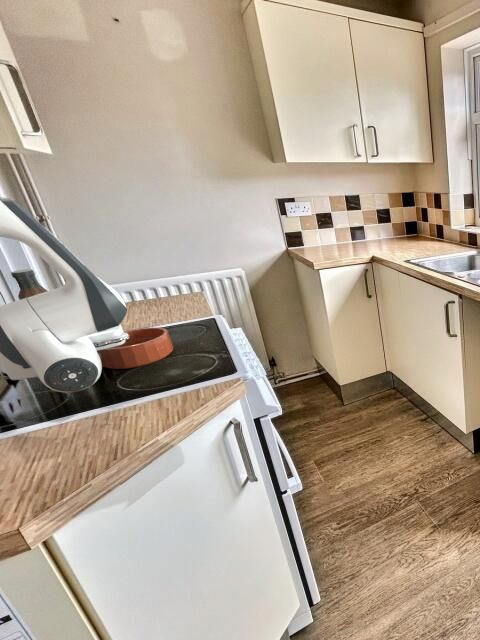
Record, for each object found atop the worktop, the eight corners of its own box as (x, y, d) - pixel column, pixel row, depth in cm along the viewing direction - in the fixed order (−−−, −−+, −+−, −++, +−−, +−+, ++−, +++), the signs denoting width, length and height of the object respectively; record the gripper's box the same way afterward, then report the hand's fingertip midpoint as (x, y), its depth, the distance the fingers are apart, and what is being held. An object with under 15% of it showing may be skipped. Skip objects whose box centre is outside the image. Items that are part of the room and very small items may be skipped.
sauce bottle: (73, 333, 124) (43, 266, 116) (71, 339, 119) (40, 270, 111) (42, 339, 120) (8, 270, 112) (38, 345, 115) (3, 274, 108)
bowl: (85, 369, 101) (75, 348, 99) (139, 345, 114) (132, 327, 112) (138, 371, 99) (130, 350, 97) (187, 347, 112) (181, 328, 110)
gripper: (125, 324, 92) (116, 311, 101) (-17, 353, 78) (-14, 335, 87) (135, 350, 95) (125, 335, 103) (-1, 383, 81) (1, 363, 90)
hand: (61, 336), depth 95 cm, fingers open, 8 cm apart
